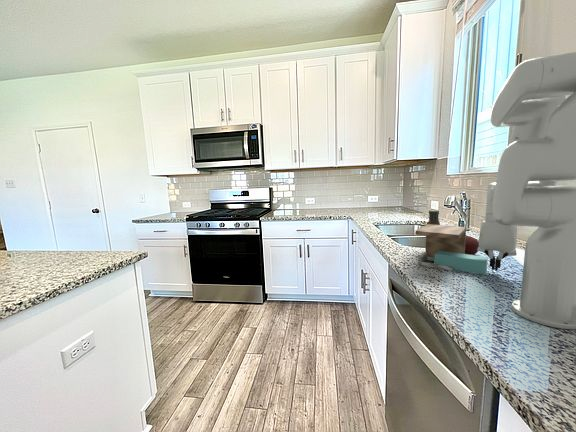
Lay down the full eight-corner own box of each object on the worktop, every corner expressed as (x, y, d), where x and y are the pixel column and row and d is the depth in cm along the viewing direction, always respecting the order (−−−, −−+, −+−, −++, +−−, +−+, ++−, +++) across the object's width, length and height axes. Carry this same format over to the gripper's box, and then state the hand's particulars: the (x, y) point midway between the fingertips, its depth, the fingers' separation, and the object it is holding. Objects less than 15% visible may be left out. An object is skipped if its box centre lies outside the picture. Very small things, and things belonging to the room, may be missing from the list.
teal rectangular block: (434, 265, 100) (434, 253, 99) (437, 262, 104) (438, 250, 104) (485, 274, 89) (486, 261, 89) (486, 270, 94) (487, 257, 93)
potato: (457, 257, 110) (458, 238, 109) (444, 250, 121) (445, 233, 120) (486, 257, 108) (487, 238, 107) (470, 250, 119) (472, 233, 118)
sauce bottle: (442, 255, 114) (445, 211, 111) (427, 254, 115) (429, 211, 113) (437, 251, 120) (439, 209, 118) (422, 250, 122) (424, 209, 119)
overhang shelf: (464, 261, 104) (466, 227, 102) (456, 274, 90) (458, 234, 88) (426, 255, 113) (427, 224, 111) (414, 267, 99) (415, 230, 97)
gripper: (528, 218, 85) (523, 270, 88) (473, 215, 95) (470, 262, 98) (529, 221, 80) (523, 277, 82) (471, 218, 90) (467, 267, 92)
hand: (494, 269), depth 90 cm, fingers closed
